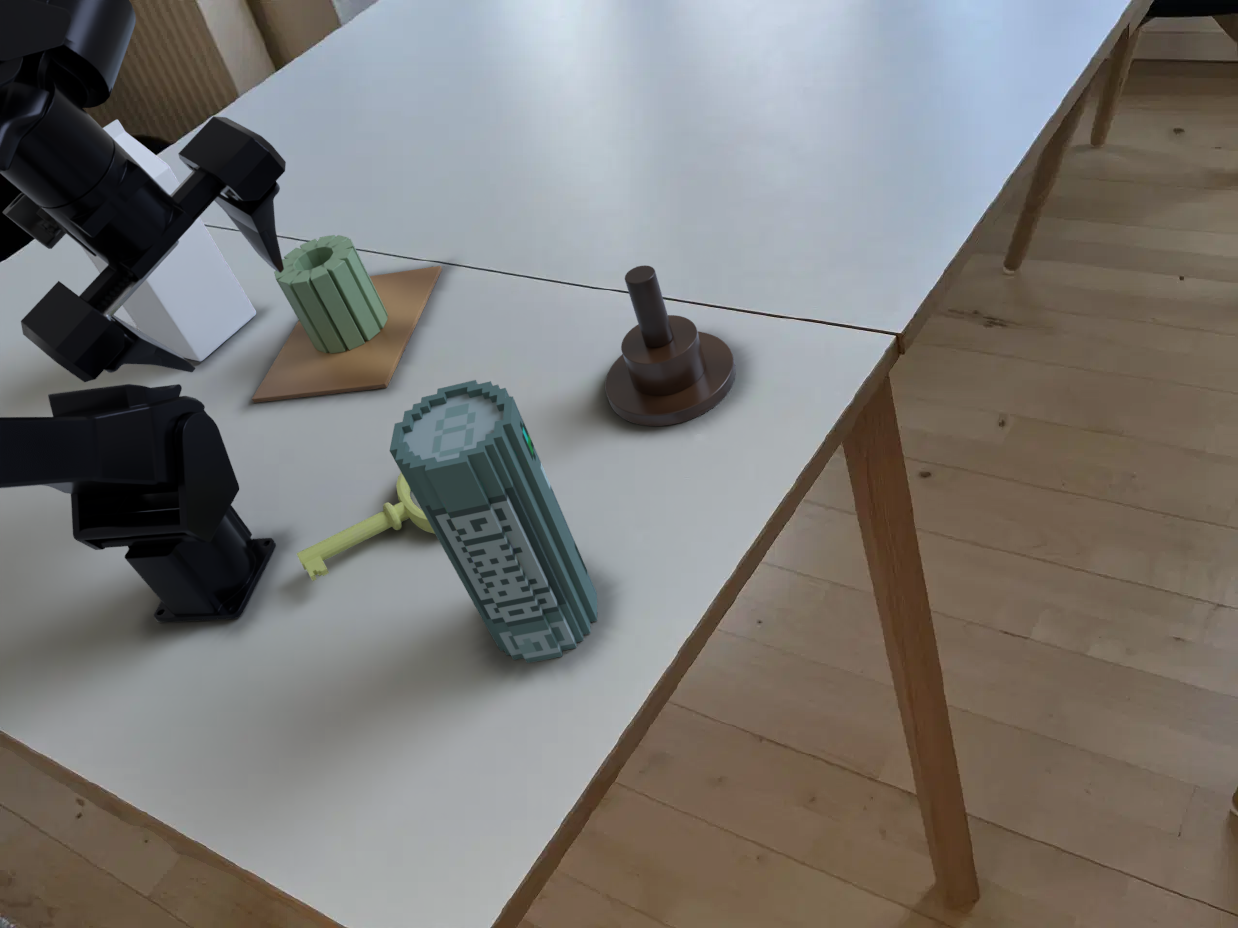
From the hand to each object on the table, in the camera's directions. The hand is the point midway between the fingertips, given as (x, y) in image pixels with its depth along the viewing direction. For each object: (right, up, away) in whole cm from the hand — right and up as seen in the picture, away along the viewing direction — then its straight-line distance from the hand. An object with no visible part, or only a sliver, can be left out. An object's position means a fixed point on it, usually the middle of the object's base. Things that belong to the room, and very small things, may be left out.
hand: (235, 318), depth 75 cm
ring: (+4, +1, +15) cm, 15 cm away
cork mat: (+4, +1, +15) cm, 16 cm away
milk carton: (-10, +1, +22) cm, 24 cm away
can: (+23, -19, -14) cm, 33 cm away
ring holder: (+30, -5, -1) cm, 31 cm away
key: (+13, -14, -5) cm, 20 cm away
